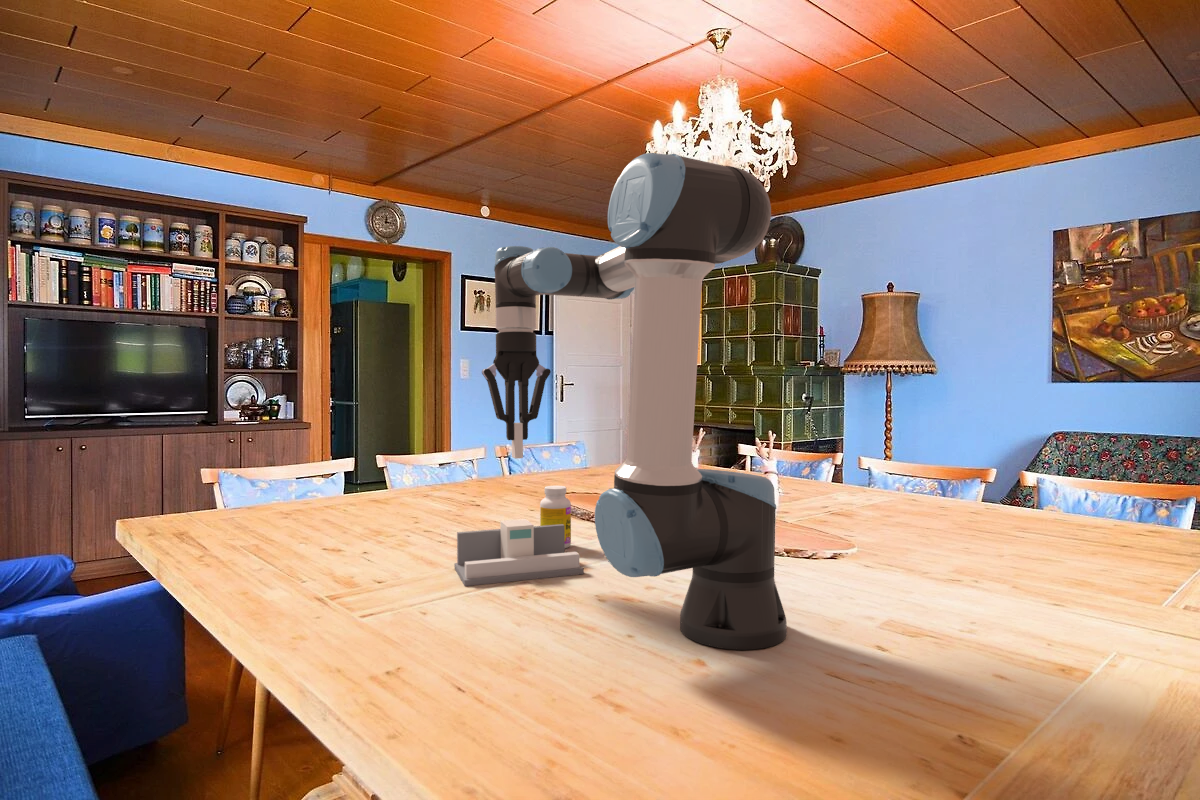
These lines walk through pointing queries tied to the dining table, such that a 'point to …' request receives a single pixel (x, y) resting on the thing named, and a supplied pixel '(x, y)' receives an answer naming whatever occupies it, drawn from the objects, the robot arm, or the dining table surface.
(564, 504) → the supplement bottle
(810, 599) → the dining table surface
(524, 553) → the block
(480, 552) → the rail base
